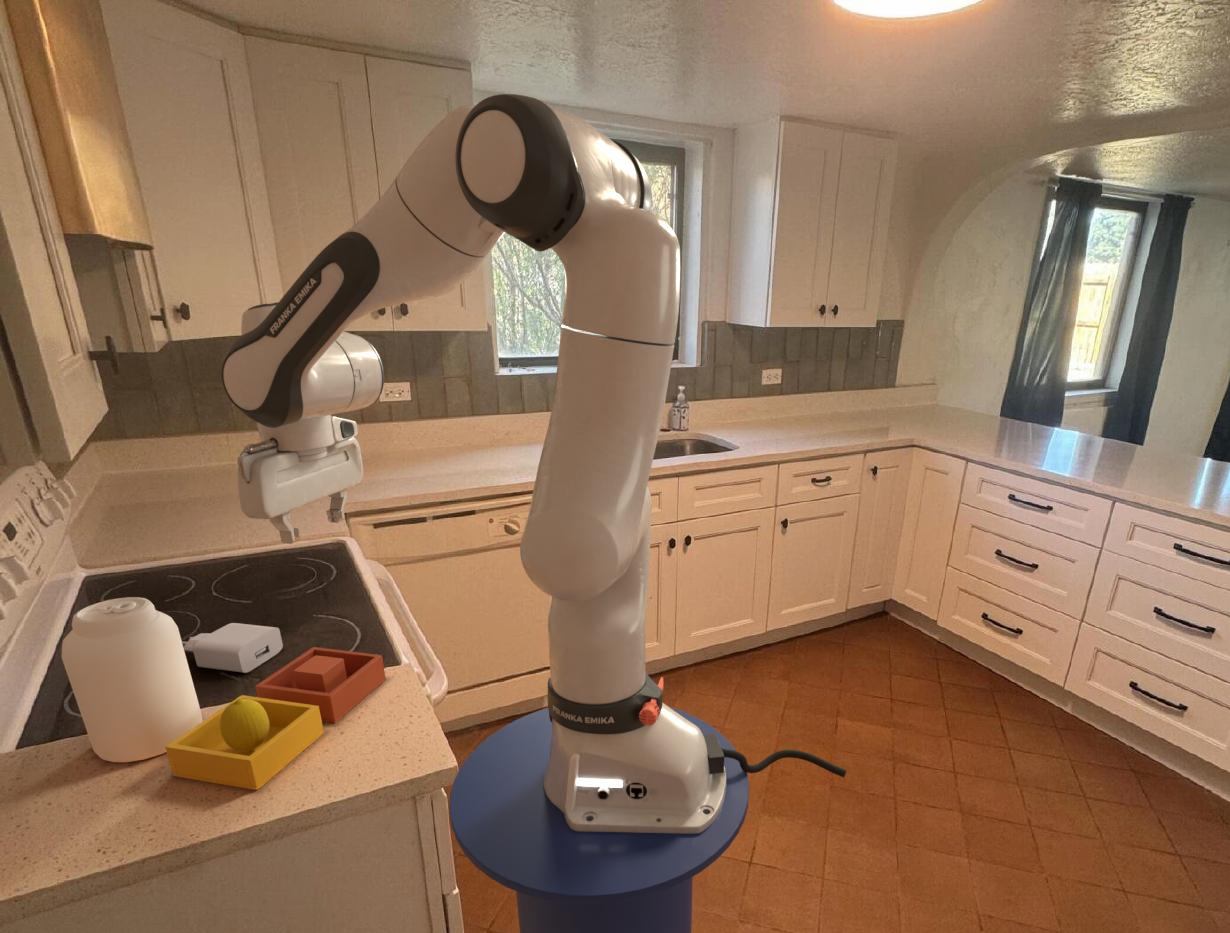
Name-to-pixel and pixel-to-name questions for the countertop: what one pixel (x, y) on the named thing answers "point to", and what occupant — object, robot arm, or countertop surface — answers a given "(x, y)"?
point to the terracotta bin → (361, 681)
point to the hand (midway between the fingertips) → (315, 531)
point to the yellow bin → (219, 763)
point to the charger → (235, 647)
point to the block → (320, 674)
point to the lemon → (244, 725)
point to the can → (130, 678)
